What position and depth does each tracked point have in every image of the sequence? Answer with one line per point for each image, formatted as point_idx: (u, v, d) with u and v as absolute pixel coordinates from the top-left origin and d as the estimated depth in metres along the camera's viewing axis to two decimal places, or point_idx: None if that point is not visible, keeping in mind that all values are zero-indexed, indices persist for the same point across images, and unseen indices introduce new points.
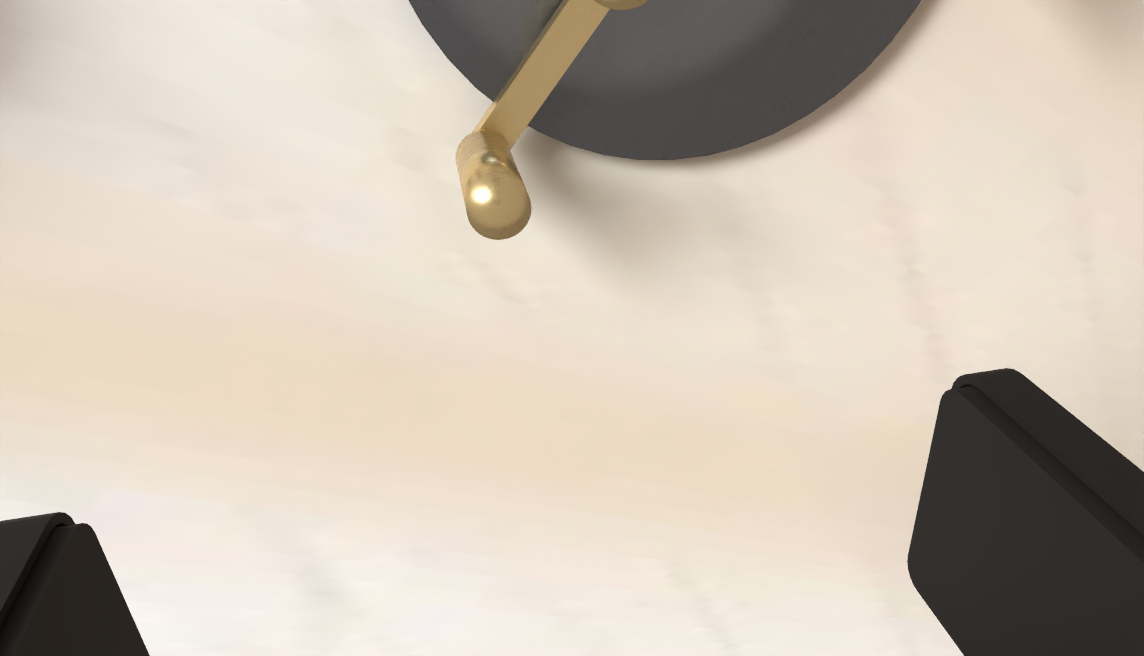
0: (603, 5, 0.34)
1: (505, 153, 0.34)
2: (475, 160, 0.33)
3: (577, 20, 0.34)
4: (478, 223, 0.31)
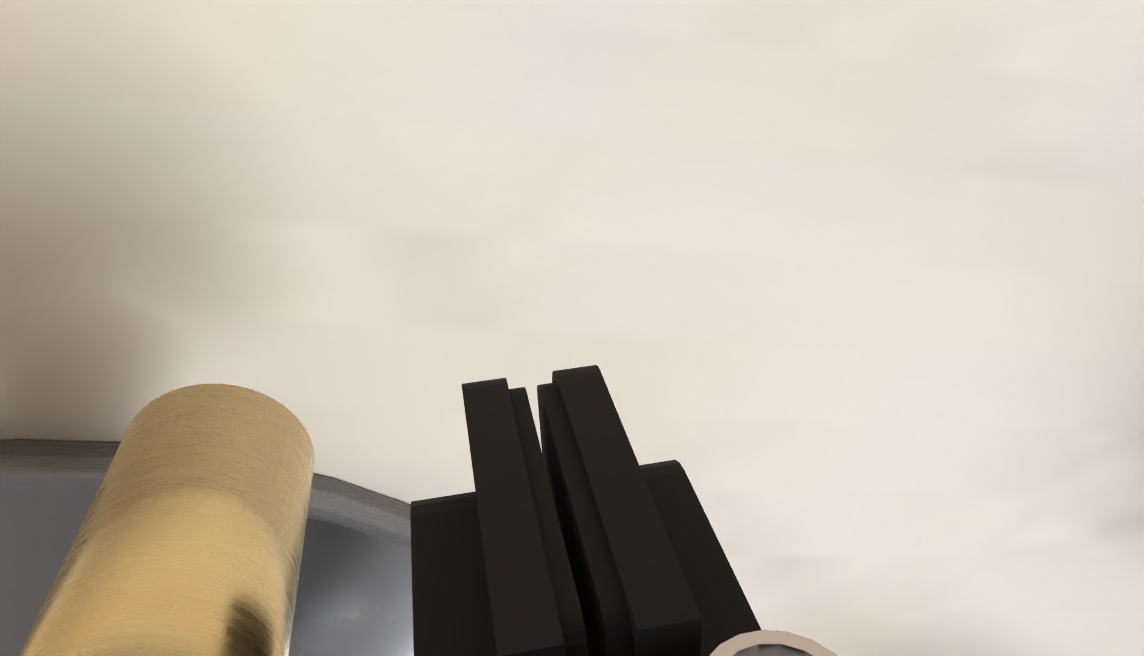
0: None
1: None
2: None
3: None
4: None
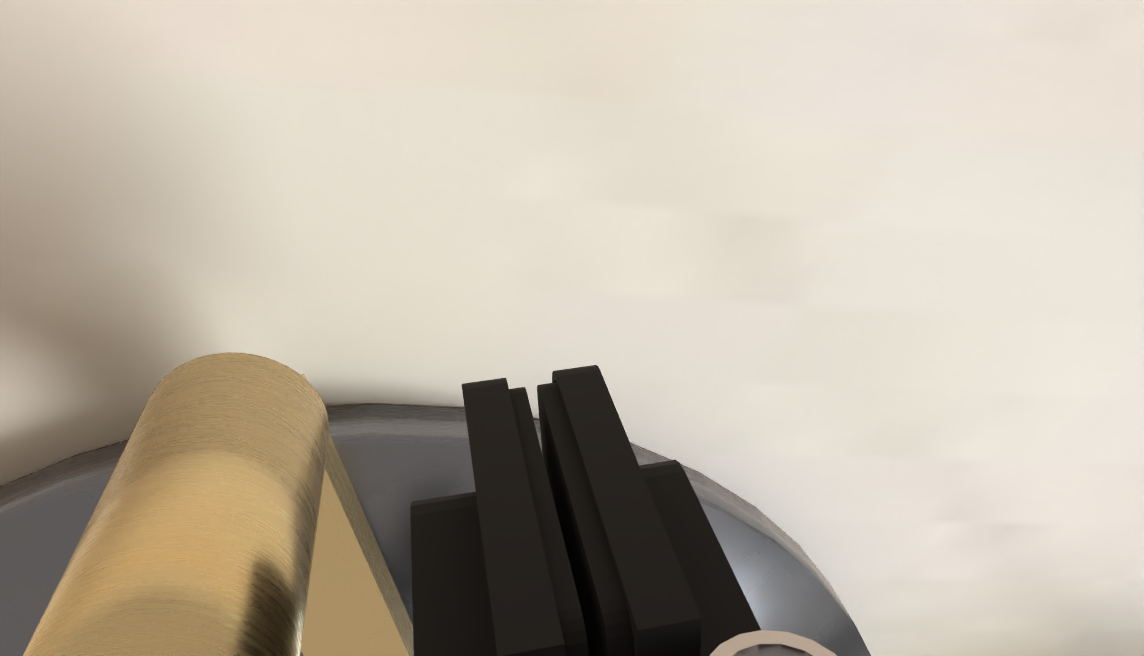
0: None
1: None
2: (302, 630, 0.09)
3: None
4: None
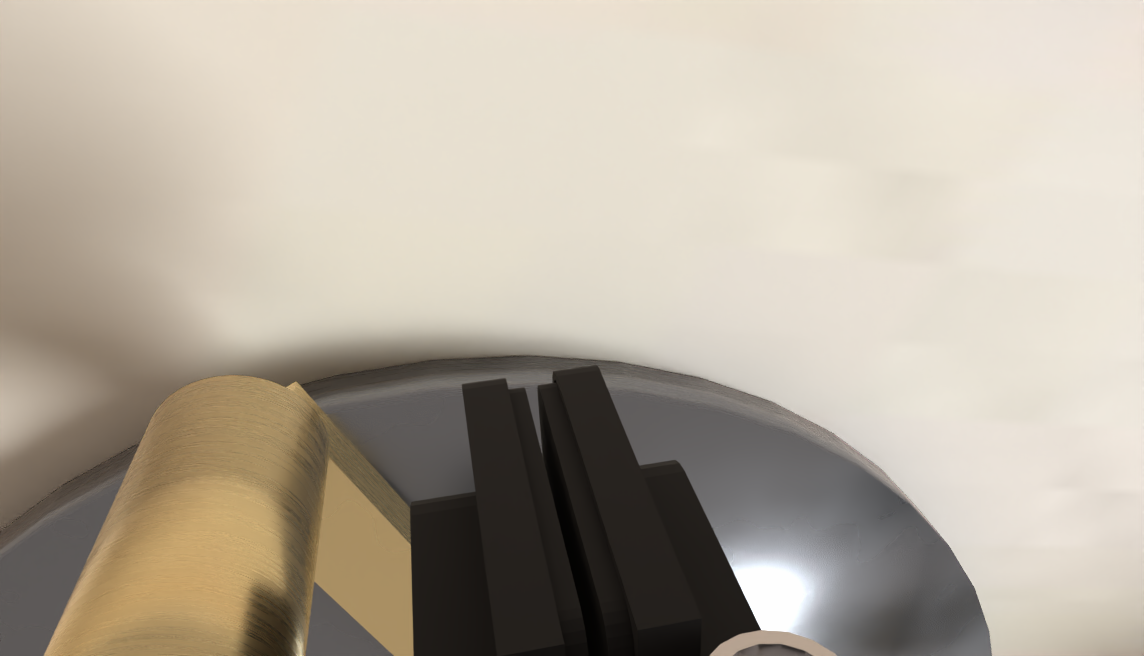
0: None
1: None
2: (301, 634, 0.09)
3: None
4: None
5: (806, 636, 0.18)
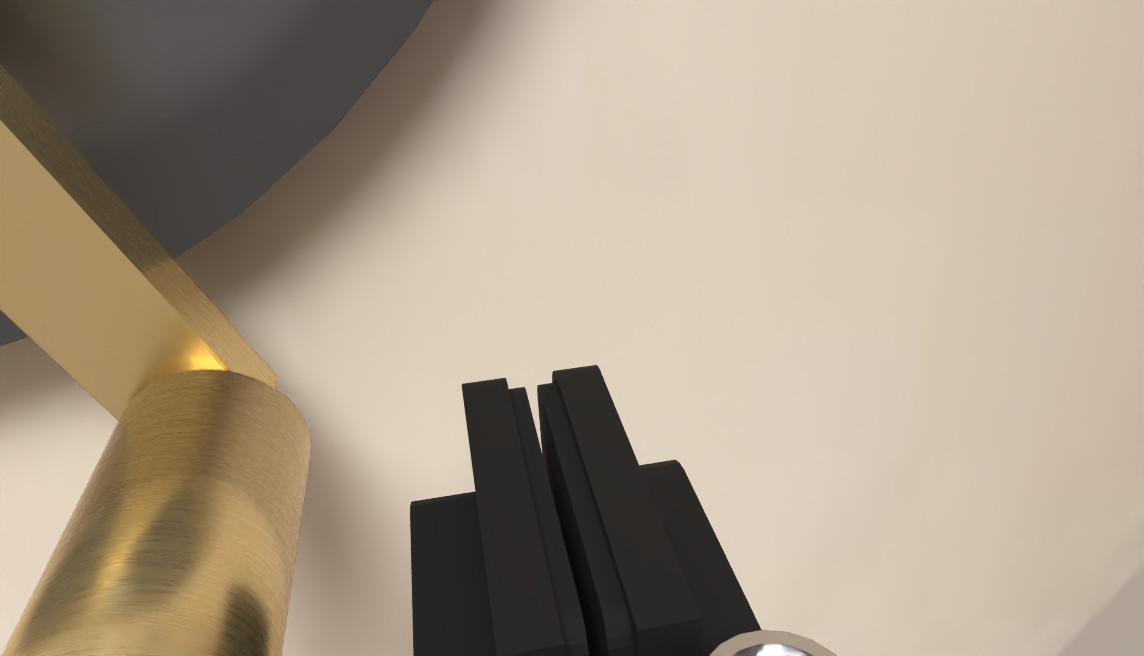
0: None
1: None
2: None
3: None
4: None
5: None
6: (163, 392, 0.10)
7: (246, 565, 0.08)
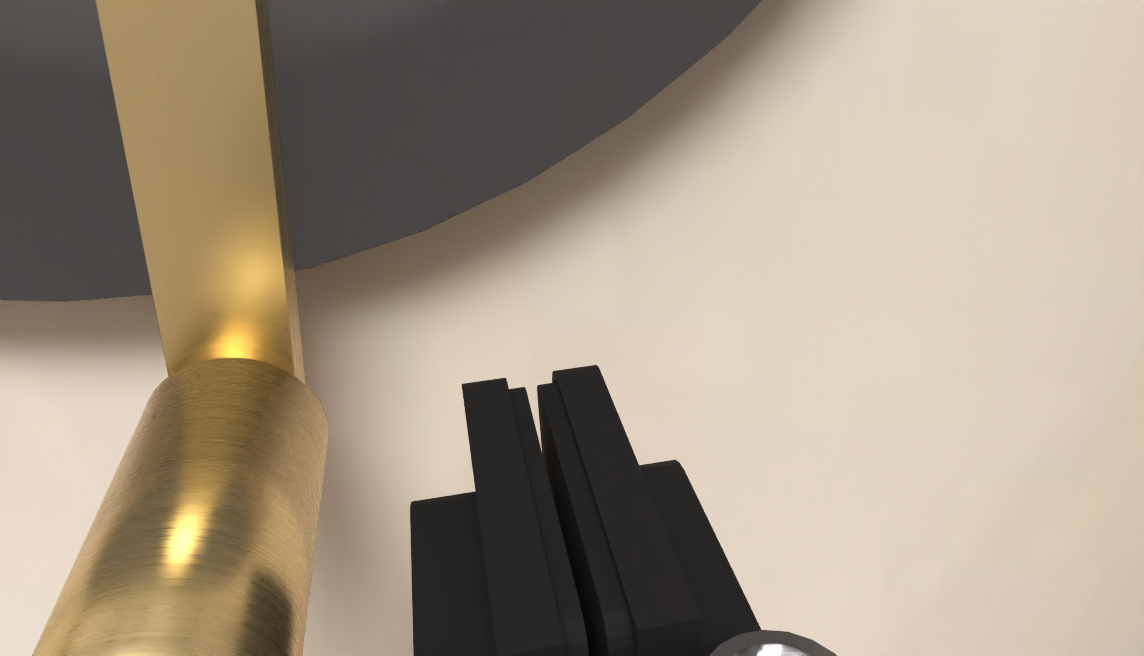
0: None
1: None
2: None
3: None
4: None
5: None
6: (242, 374, 0.11)
7: (304, 580, 0.09)
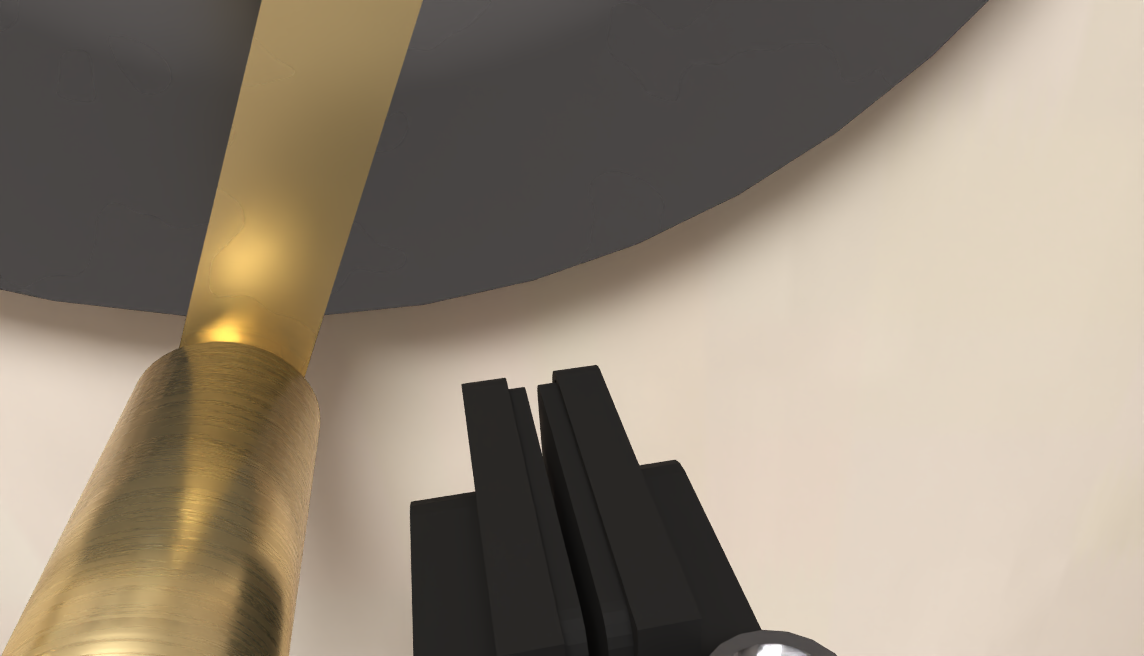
0: None
1: None
2: None
3: None
4: None
5: None
6: (262, 365, 0.10)
7: None
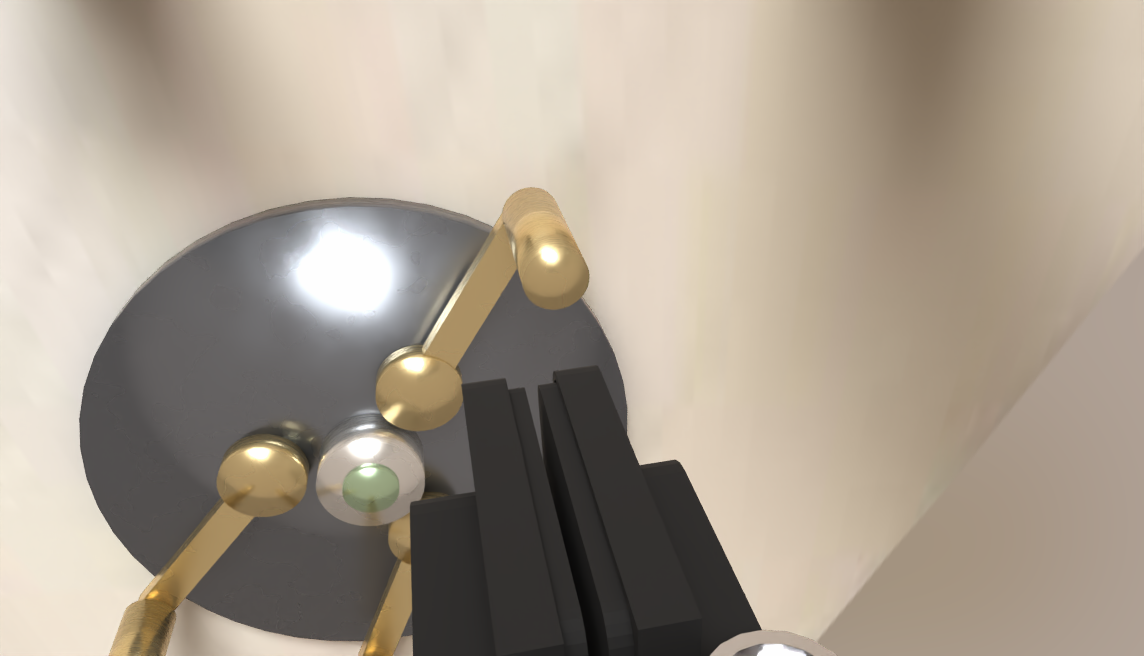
0: (248, 513, 0.40)
1: (147, 645, 0.39)
2: None
3: (226, 523, 0.40)
4: None
5: (178, 388, 0.37)
6: None
7: None
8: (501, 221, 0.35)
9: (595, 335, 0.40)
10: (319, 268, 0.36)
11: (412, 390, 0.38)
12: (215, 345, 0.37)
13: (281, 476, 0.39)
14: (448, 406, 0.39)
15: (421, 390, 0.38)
